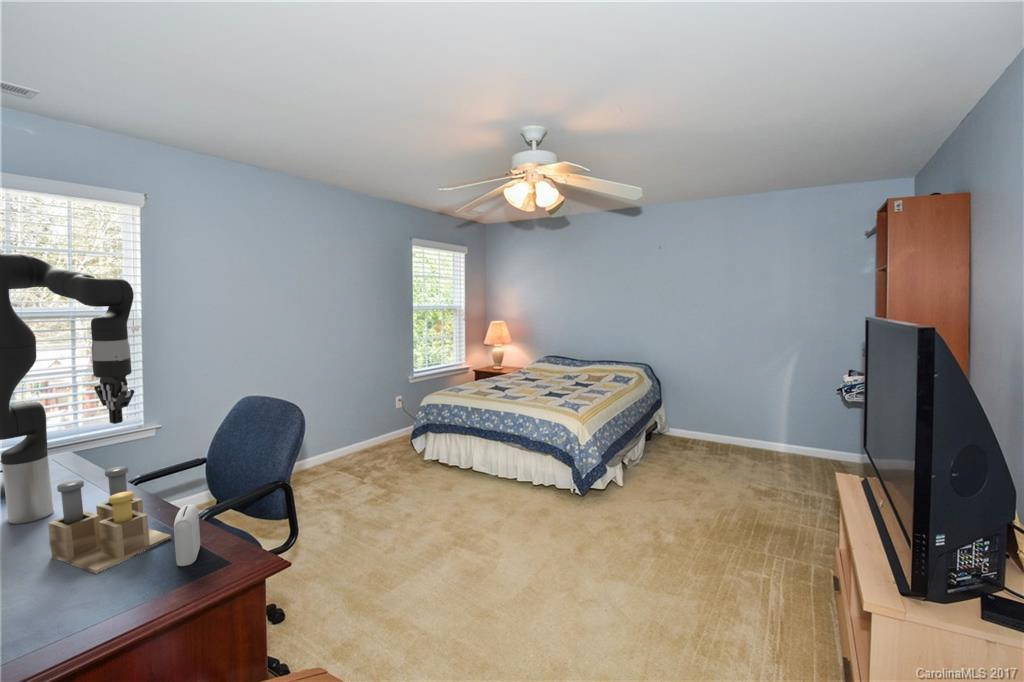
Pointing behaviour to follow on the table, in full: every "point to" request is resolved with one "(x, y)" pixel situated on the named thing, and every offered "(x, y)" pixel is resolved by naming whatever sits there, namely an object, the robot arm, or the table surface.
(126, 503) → the ochre plug
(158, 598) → the table surface
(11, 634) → the table surface
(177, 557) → the photo printer
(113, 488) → the grey plug
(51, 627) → the table surface
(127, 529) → the board
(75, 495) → the grey plug
